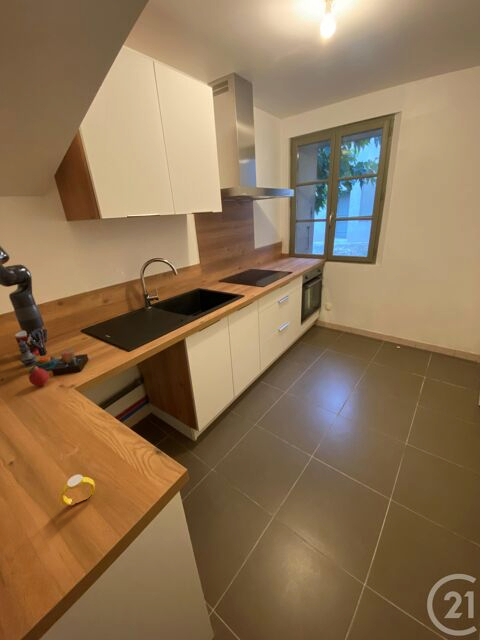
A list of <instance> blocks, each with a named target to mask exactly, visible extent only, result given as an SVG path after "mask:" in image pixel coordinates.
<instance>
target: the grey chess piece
mask: <svg viewBox="0 0 480 640" xmlns="http://www.w3.org/2000/svg"><path fill="white" fill-rule="evenodd" d="M17 346H18V349H19V352H20V354H21V357H19V359H18V360H19V362H20V363H22V364H23V365H22V367H23V368H31V367H34V366H35V365H36V363H37V362H38V361H39V360H36V359H37V356H36V354H31V352H30V350H29V349H30V348H29V347H28V346H27V344H25V341H22V340H20V342H19V343H17Z"/></svg>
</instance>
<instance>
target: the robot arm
mask: <svg viewBox="0 0 480 640" xmlns="http://www.w3.org/2000/svg"><path fill="white" fill-rule="evenodd" d="M9 260H10V255H9V254H8V252H7V251H6V250H5V249H4V248H3V247H2V246H1V245H0V286H2V287H5V288H10V287H14V286H17V287H16V289H15V290H13V291H12V292H10V293H9V295H8V297H9V301H10V303H11V305H12V308H13V311H14V315H15V317H16V320H17V322H18V325H19V327H20V329H21V331H26V333H27V337H28V341H25V344H27V345H28V346H30V347H31V348H32V349H37V350H38V352H39V355H38V356H40V357H44V356H47V354H48V351H47V348H46V343H47V342H48V329H46V328H44V325H45V322H44V320H43V316H42V314H41V311H40V308H39V307H38V304H37V303H36V300H35V297H34V294H33V279H32V273H31V271H30V270H29V268H28V267H27V266H25V265H23V264H13V265H8V266H7V265H6V266H4V265H5V264H7V263H8V262H9Z"/></svg>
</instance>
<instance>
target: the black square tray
mask: <svg viewBox="0 0 480 640" xmlns="http://www.w3.org/2000/svg"><path fill="white" fill-rule="evenodd" d="M75 358H76V361H74V362H73V363H70V364H64V362H63V359H62V357H60V358H59V359H60V360H59V362H58V363H57V364H56V365H55V366H54V367H53V368H52V371H51V372H52V375H53V377H56V376H62V375H69V374H70V375H71V374H76V373H82V371H83V369H84V368H85V366H86V365H87V363H88V362H89V356H88V354H87V353H85V354H76V355H75Z"/></svg>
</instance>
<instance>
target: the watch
mask: <svg viewBox="0 0 480 640" xmlns="http://www.w3.org/2000/svg"><path fill="white" fill-rule="evenodd" d="M82 484H86V485H89V486H91V490H90V491H91V495H92V496H93V495H94V493H95V490H96V483H95V481H94V480H93V479H92V478H90V477H88V476H83V475H82V474H74V475H72V476H71V477H70V478H69V479H68V481H67V482H66V483H65V484H64V486H63V487H62V489H61V492H60V493H61V494H60V499H61V502H62V504H64V505H66V506H71V505H70V504H71V502H72V499H73V498H68V497H67V496H66V495H65V494H66V492H67V491H68V490H69V489H71V490H73V489H76V488H78V487H80V486H81V485H82ZM91 495H90V496H91ZM92 496H91V497H92Z"/></svg>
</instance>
